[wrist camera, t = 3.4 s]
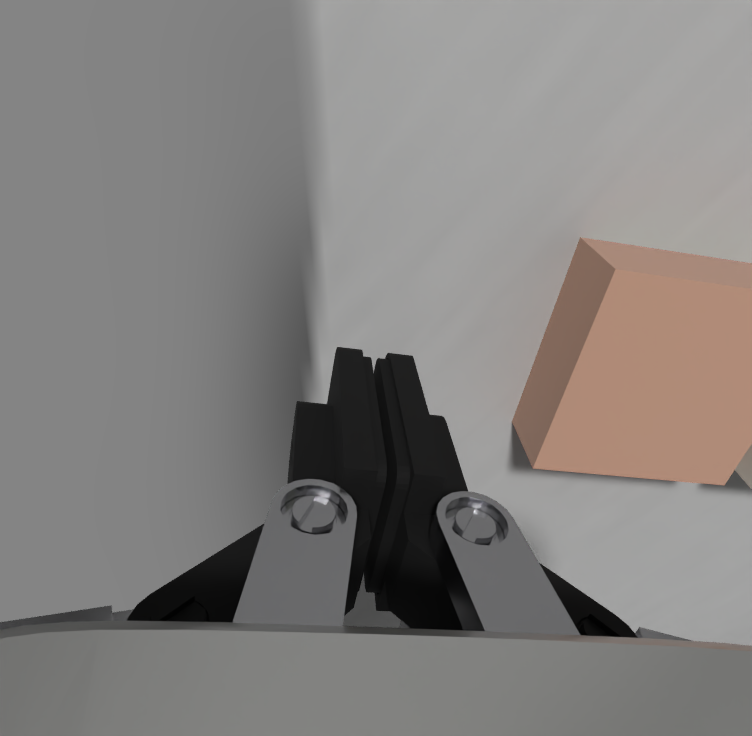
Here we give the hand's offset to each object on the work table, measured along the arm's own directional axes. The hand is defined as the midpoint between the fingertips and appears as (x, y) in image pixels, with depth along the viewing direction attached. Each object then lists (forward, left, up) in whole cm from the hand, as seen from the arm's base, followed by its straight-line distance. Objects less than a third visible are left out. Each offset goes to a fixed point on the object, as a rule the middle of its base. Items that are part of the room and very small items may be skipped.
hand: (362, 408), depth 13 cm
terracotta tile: (-1, +8, -4) cm, 9 cm away
